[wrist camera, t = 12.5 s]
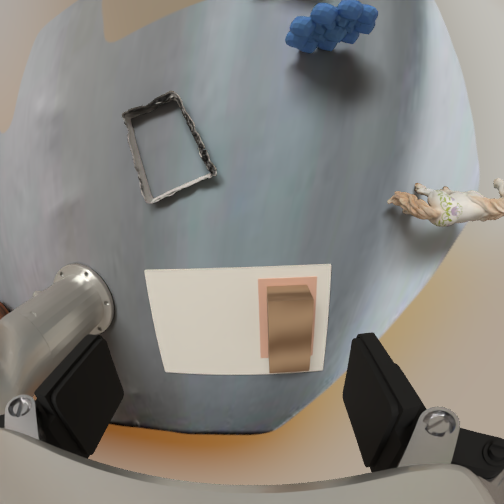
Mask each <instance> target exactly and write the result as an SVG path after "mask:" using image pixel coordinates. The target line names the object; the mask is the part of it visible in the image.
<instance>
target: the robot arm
mask: <svg viewBox="0 0 504 504" xmlns="http://www.w3.org/2000/svg"><path fill="white" fill-rule="evenodd" d="M113 315H114V305H113V300H112V297H111V294H110V291H109V289H108V287H107V285H106V284H105V283H104V281H103V280H102V278H101V277H100V276H99V275H98V274H97V273H96V272H94V271H93V270H92V269H90V268H89V267H87V266H85V265H82V264H76V263H74V264H69V265H67V266H65V267H63V268H62V269H60V270H59V271H58V273H57V274H56V276H55V279H54V283H53V285H51V286H50V287H48V288H47V289H45V290H43V291H35V292H34V294H33V298H31V299H29V300H28V301H26V302H25V303H23V304H22V305H20V306H19V307H17V308H16V309H14V310H13V311H11V312H10V313H8V314H7V315H5V316H4V317H3V318H2V319H1V320H0V504H504V439H502V438H498V437H494V436H490V435H486V434H481V433H477V432H474V431H470V430H466V429H462V428H460V421H459V418H458V416H457V415H456V414H455V413H454V412H453V411H451V410H450V409H447V408H444V407H432V408H429V409H426V408H425V406H424V405H423V403H422V401H421V400H420V398H419V396H418V395H417V393H416V392H415V390H414V389H413V387H412V386H411V384H410V382H409V381H408V379H407V378H406V376H405V375H404V373H403V372H402V370H401V369H400V367H399V366H398V365H397V364H395V363H394V362H393V361H392V359H391V358H390V356H389V355H388V353H387V352H386V350H385V349H384V347H383V346H382V344H381V343H380V341H379V340H378V338H377V337H376V335H375V334H374V333H364V334H358V335H357V338H354V339H353V340H352V344H351V350H350V357H349V363H348V368H347V374H346V379H345V385H344V389H343V401H344V403H345V407H346V410H347V412H348V415H349V418H350V421H351V424H352V427H353V430H354V433H355V437H356V439H357V443H358V446H359V449H360V452H361V455H362V458H363V461H364V464H365V466H366V467H370V469H371V472H372V473H366V474H362V475H357V476H351V477H345V478H340V479H333V480H326V481H317V482H308V483H298V484H285V485H254V486H252V485H247V486H245V485H221V484H207V483H197V482H188V481H180V480H174V479H167V478H161V477H156V476H150V475H146V474H141V473H137V472H132V471H128V470H124V469H120V468H116V467H113V466H110V465H106V464H102V463H99V462H96V461H93V460H90V459H88V457H89V456H90V455H92V454H93V453H94V451H95V449H96V447H97V445H98V444H99V442H100V440H101V438H102V436H103V434H104V432H105V430H106V428H107V426H108V424H109V423H110V421H111V419H112V417H113V415H114V413H115V411H116V410H117V408H118V406H119V404H120V402H121V400H122V399H123V395H124V391H123V388H122V385H121V383H120V380H119V377H118V375H117V372H116V369H115V366H114V363H113V360H112V358H111V355H110V351H109V348H108V345H107V342H106V341H105V340H104V339H103V338H102V336H100V335H97V334H100V333H102V332H104V331H105V330H106V329H107V328H108V327H109V325H110V324H111V322H112V320H113ZM34 394H35V395H36V397H37V399H36V401H35V400H34V399H33V398H32V397H33V396H34Z"/></svg>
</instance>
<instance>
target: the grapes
mask: <svg viewBox="0 0 504 504" xmlns="http://www.w3.org/2000/svg"><path fill="white" fill-rule="evenodd" d="M377 16H378V11H377V10H376V8H375V7H372V6H370V5H366V4H361V3H360V2H359V1H356V0H342V1H341V2H340V3H339V4H338V6H337V7H334V6H333V5H331V4H328V3H318V4H316V5H315V7H314V8H313V9H312V12H311V16H310V17H306V16H297V17H296V18H295V19H294V20H293V22H292V23H291V26H290V31H289V33H288V34H287V36H286V39H285V41H286V44H287V45H289V46H291V47H294V48H297V49H299V50H300V51H303V52H307V53H313V52H314V50H315V49H316V48H317V47H319V48H320V49H323V50H328V51H332V50H333V49H334V47H335V46H336V45H337V43H338V42H340V41H342V42H345V43H350V44H353V43H354V42H355V41H356V40H357V39H358V37H359V33H364V34H369V33H370V32H371V31H372V30H373V28H374V26H375V20H376V18H377Z"/></svg>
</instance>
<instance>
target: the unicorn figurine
mask: <svg viewBox="0 0 504 504" xmlns="http://www.w3.org/2000/svg"><path fill="white" fill-rule="evenodd" d="M493 184H494V188H497V189H498V190H499V194H500V198H499V199H495V198H494V199H488V198H485V197H484V196H482V195H481V194H480V193H478V192H476V191H472V190H470V191H468V192H459V191H451V190H449V188H448V187H443V189H440V190H432V189H426V187H425V186H423V185H421V184H420V183H416V184H415V187H416V189H415V191H417V193H419V194H420V195H425V196H427V197H428V204H429V205H428V204H427V203H426V202H425V201H423V200H422V199H419V200H418V198H417V197H416V196H415V195H413V194H409V193H406V192H400V191H397V192H395V195H394V196H392V197H391V198H390V199H389V200H388V201H387V203H388V204H390V203H393V204H394V205H398V206H401V208H403V211H402V212H403V213H404V214H412V215H413V216H414V217H417V218H419V219H428V220H429V221H430V222H431V223H433V224H434V225H436V226H439V227H444V226H450V225H452V224H454V223H463V222H467V221H476V220H481V221H486V220H496V219H499V218H500V217H502V216H504V180H501V179H500V178H497V179H495V180H494V183H493Z"/></svg>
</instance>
